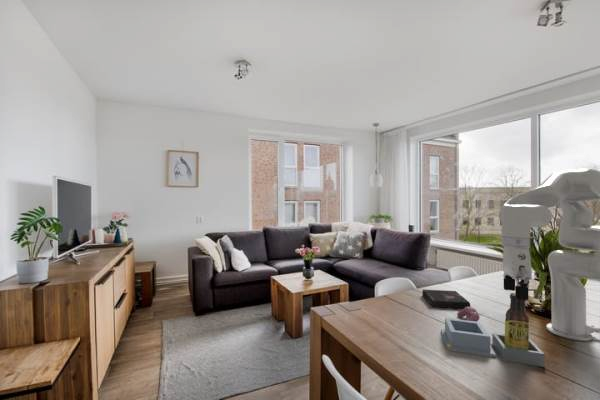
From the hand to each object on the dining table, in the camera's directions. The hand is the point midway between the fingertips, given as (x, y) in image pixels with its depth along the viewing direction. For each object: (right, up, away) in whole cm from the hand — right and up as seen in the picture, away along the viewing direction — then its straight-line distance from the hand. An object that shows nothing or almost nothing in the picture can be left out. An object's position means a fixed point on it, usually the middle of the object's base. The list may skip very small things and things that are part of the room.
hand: (515, 294), depth 90 cm
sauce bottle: (+1, -20, 0) cm, 20 cm away
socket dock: (-12, -20, +7) cm, 24 cm away
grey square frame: (+1, -20, 0) cm, 20 cm away
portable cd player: (+2, -21, +47) cm, 52 cm away
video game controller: (0, -21, +26) cm, 33 cm away
